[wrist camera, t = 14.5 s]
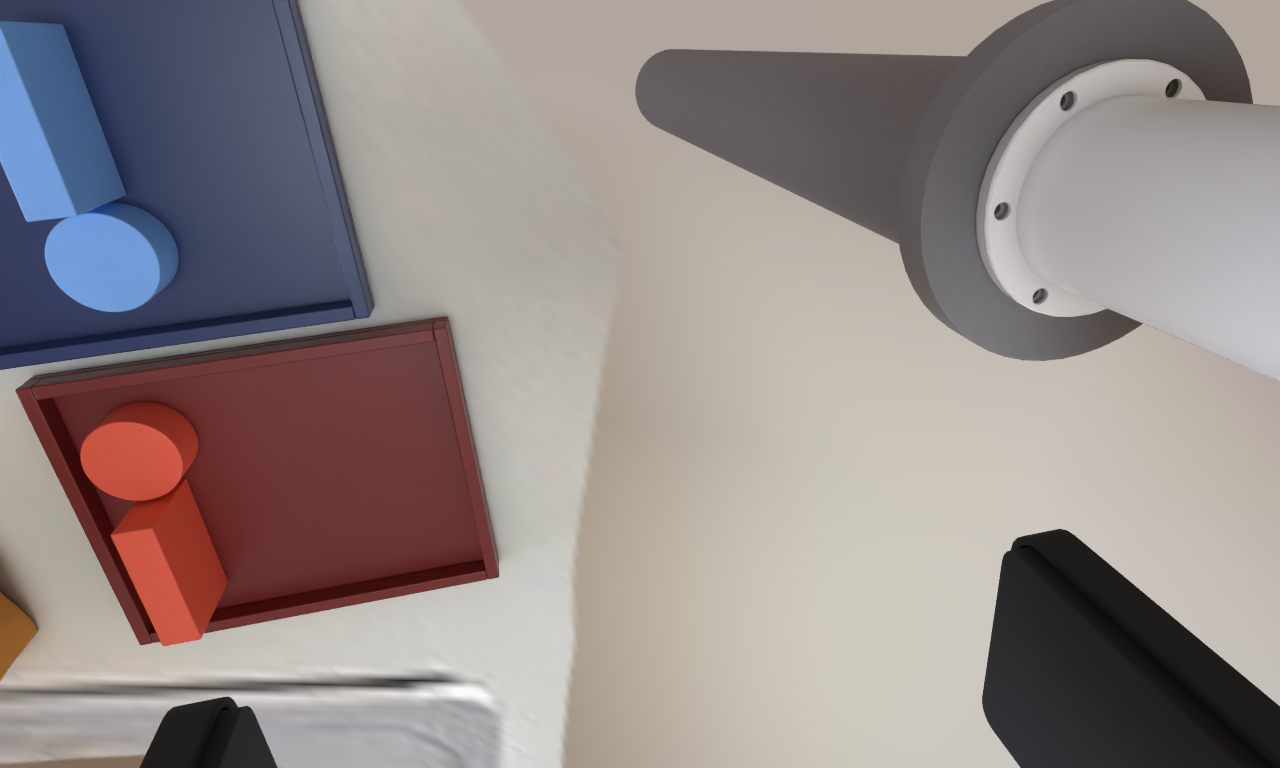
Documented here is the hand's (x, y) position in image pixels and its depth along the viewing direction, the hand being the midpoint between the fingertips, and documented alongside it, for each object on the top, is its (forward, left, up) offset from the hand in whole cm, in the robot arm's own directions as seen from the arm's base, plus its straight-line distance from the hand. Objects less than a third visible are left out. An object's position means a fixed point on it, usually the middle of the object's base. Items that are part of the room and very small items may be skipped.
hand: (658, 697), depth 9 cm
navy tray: (+16, -4, -26) cm, 31 cm away
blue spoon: (+16, -5, -26) cm, 31 cm away
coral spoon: (+18, +10, -26) cm, 33 cm away
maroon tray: (+13, +10, -26) cm, 31 cm away
